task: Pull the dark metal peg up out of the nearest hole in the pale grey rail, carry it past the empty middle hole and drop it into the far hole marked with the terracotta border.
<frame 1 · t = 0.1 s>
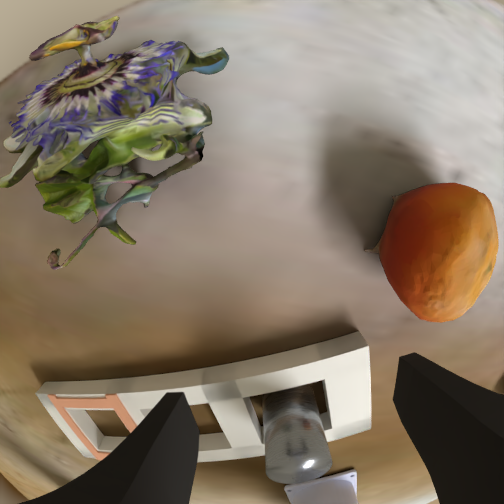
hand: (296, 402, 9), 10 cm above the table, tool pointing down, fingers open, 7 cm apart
metal peg: (287, 397, 21), resting in hole rail
fruit: (413, 237, 18), on the table
hole rail: (190, 414, 21), on the table
passion flower: (135, 146, 16), on the table
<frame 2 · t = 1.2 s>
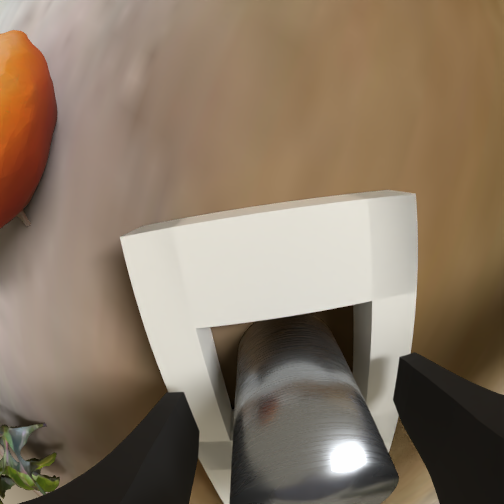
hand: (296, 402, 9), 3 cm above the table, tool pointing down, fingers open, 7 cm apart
metal peg: (287, 354, 11), resting in hole rail
fruit: (23, 139, 9), on the table
hole rail: (298, 460, 13), on the table
passion flower: (14, 411, 14), on the table
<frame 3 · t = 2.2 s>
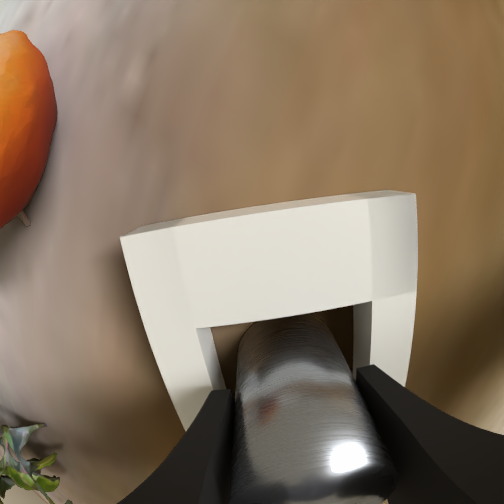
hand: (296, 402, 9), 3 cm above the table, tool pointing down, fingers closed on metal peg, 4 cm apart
metal peg: (287, 354, 11), resting in hole rail, touching gripper
fruit: (23, 139, 9), on the table
hole rail: (298, 460, 13), on the table
passion flower: (14, 412, 14), on the table
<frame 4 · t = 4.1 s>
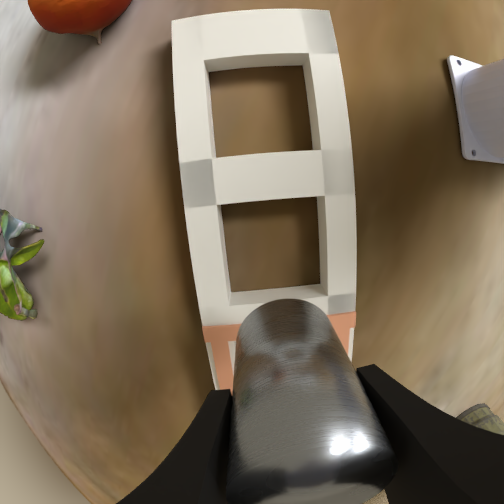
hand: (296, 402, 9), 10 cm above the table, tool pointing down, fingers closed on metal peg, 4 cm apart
metal peg: (285, 342, 12), point 7 cm above the table, touching gripper
thermos: (460, 429, 24), on the table
fruit: (107, 5, 13), on the table
hole rail: (272, 244, 18), on the table
passion flower: (13, 232, 17), on the table
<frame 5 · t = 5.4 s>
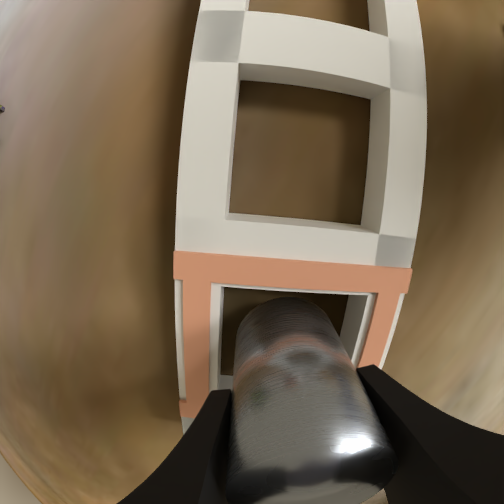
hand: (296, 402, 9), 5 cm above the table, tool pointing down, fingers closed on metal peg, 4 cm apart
metal peg: (285, 341, 12), point 2 cm above the table, touching gripper
hole rail: (303, 150, 11), on the table
when the fingers open (4 cm above the table, at t = 6.4 s): metal peg stays where it is, resting in hole rail.
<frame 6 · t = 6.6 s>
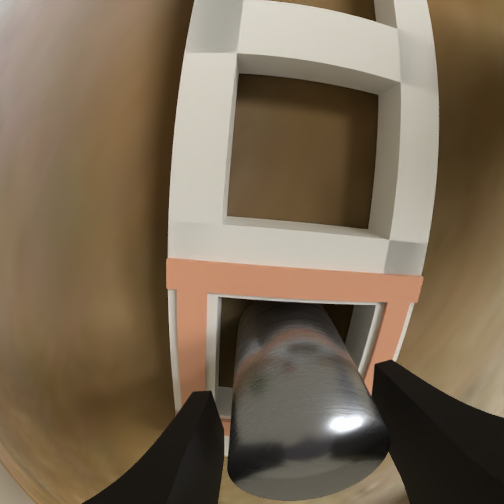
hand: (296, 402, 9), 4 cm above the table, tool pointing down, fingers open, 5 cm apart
metal peg: (284, 332, 12), resting in hole rail
hole rail: (307, 149, 10), on the table
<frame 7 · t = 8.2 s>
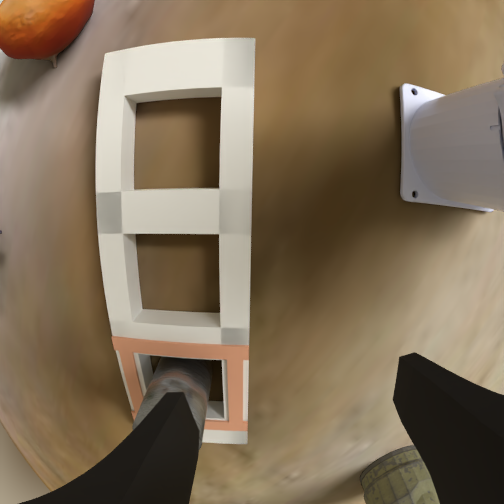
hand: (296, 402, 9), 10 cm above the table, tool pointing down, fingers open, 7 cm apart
metal peg: (186, 367, 20), resting in hole rail
thermos: (392, 466, 25), on the table
fruit: (68, 26, 14), on the table
hole rail: (178, 271, 18), on the table
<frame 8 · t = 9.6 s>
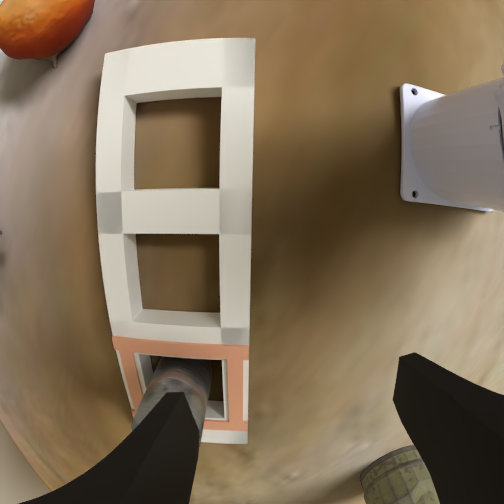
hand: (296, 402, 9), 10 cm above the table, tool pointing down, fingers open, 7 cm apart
metal peg: (186, 367, 20), resting in hole rail
thermos: (392, 466, 25), on the table
fruit: (68, 26, 14), on the table
hole rail: (179, 271, 18), on the table
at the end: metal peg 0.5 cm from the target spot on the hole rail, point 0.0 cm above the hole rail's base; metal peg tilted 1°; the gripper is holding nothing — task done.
